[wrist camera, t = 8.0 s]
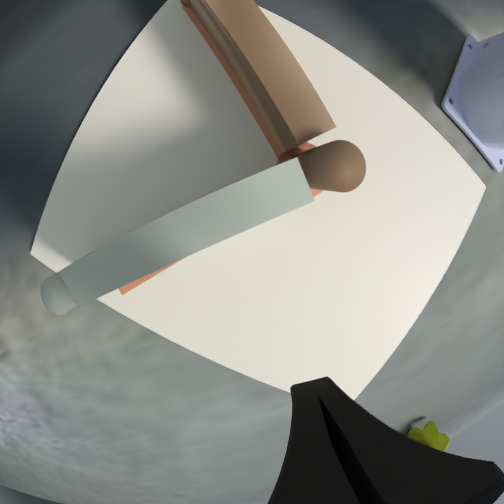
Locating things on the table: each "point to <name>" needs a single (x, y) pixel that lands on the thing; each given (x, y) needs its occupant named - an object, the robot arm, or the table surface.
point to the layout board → (275, 230)
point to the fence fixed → (280, 91)
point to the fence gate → (179, 235)
